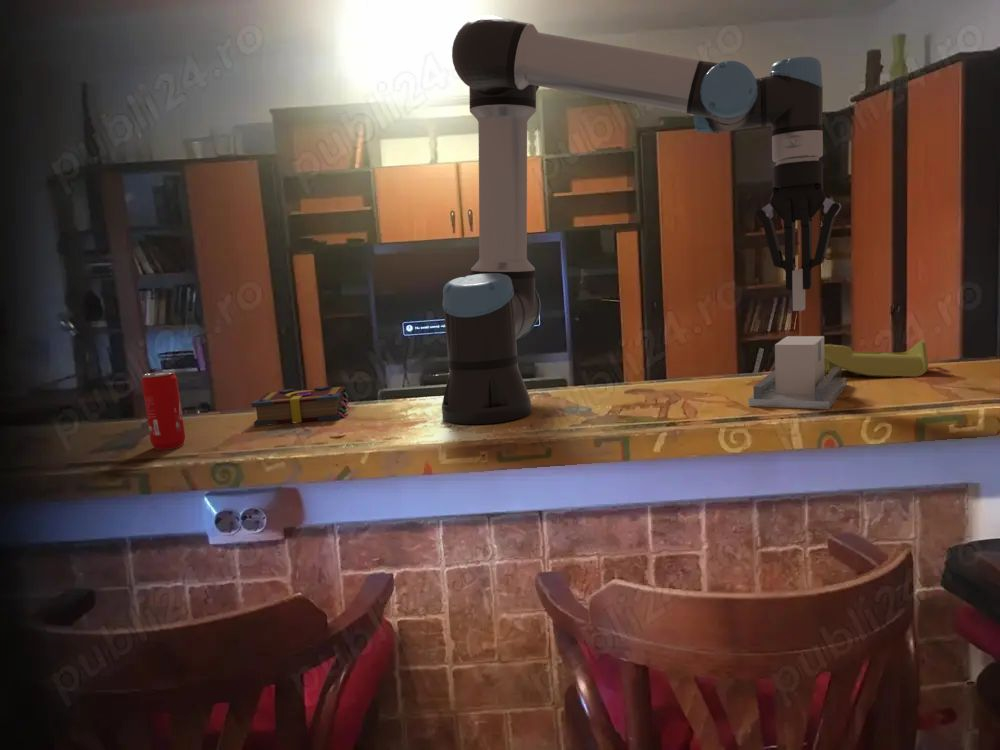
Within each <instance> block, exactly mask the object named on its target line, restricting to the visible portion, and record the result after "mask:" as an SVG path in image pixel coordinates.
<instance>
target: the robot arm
mask: <svg viewBox="0 0 1000 750" xmlns="http://www.w3.org/2000/svg"><path fill="white" fill-rule="evenodd" d="M451 48H452V49H451V59H452V60H451V61H452V63H453V68H454V70H455V72H456V74H457V76H458V77H459V78H460V80H461V81H462V82H463V84H465V85H466V86H467V87H469V113H470V114H471V115H472V116H473V117H474V118H475V119H476V120H477V123H478V232H479V233H478V234H479V235H478V237H479V239H478V241H479V242H478V243H479V244H478V247H479V248H478V249H479V258H478V261H477V262H476V263H474V265H473V266H472V267H470V268H471V269H470V272H471V274H469V275H466V276H461V277H456V278H454V279H451V280H449V281H448V282H446V283H445V285H444V286H443V289H442V303H441V305H442V309H443V316H444V329H445V339H446V341H445V342H446V349H447V350H446V351H447V352H446V353H447V361H448V376H447V377H448V378H447V381H446V384H445V385H446V386H445V390H444V394H443V399H442V404H441V413H442V416H441V417H442V419H443V420H444V421H445V422H448V423H451V424H458V425H459V424H461V425H487V424H498V423H504V422H511V421H514V420H518V419H523V418H524V417H526V416H527V417H528V416H529V415H530V414H531V413H532V400H531V399H532V398H531V397H530V394H529V392H528V389H527V386H526V384H525V382H524V379H523V377H522V374H521V371H520V369H519V361H518V349H517V347H518V346H517V341H518V340H520V339H522V338H524V337H526V335H528V334H529V333H530V332H531V331H532V330H533V328H534V327H535V325H536V324H537V322H538V321H539V318H540V314H541V310H542V309H541V308H542V305H541V298H540V295H539V293H538V290H537V289H536V268H535V266H534V265H533V264H531V262H530V261H529V260H528V253H527V252H528V250H527V249H528V247H527V246H528V241H527V240H528V235H527V234H528V222H527V221H528V121H529V120H530V118H531V117H533V115H534V114H536V111H537V92H538V91H539V89H540V87H542V88H548V89H553V90H559V91H563V92H569V93H575V94H580V95H586V96H589V97H590V96H591V97H597V98H602V99H609V100H611V101H612V100H613V101H619V102H623V103H630V104H633V105H640V106H645V107H650V108H651V107H652V108H657V109H661V110H662V109H663V110H668V111H673V112H674V111H675V112H679V113H684V114H689V115H691V116H693V124H694V130H695V131H696V132H697V133H699V134H710V133H712V134H713V133H714V134H719V133H720V132H729V131H730V132H731V131H737V130H738V131H739V130H744V129H753V128H765V127H771V153H772V154H771V157H772V159H771V160H772V162H774V163H775V165H773V167H772V194H771V196H770V198H769V203H768V204H767V205H765V206H763V207H762V208H760V209H757V210H756V211H755V215H756V217H757V218H758V219H759V221H760V223H762V227H763V230H764V234H765V238H766V242H767V245H768V248H769V253H770V257H771V260H772V263H773V264H772V265H773V266H774V267H776V268H779V269H783V270H784V272H785V288H786V291H792V312H803V311H805V310H806V290H810V289H812V287H813V269H814V268H815V267H818V266H819V265H822V264H824V262H825V258H826V254H827V251H828V246H829V243H830V238H831V235H832V230H833V226H834V223H835V218H836V217H837V215H838V213H839V212H840V210H841V209H842V204H841V203H839V202H835V201H834V200H831V199H830V198H828V196H827V193H826V191H825V188H824V162H822V160H820V158H822V157H823V155H824V137H823V136H824V135H823V133H824V132H823V111H824V109H823V104H824V103H823V99H824V96H823V95H824V93H823V88H824V85H823V77H822V64H821V61H820V60H819V59H817V58H816V57H814V56H794V57H790V58H787V59H781V60H778V61H776V62H774V63H773V64H772V65H771V67H770V72H769V75H767V76H764V77H763V76H762V77H759V78H756V77H755V75H754V73H753V71H752V70H751V69H750V68H749V67H748V66H747V65H746V64H744V63H743V62H740V61H736V60H726V61H722V62H720V63H718V62H712V61H704V60H701V59H695V58H689V57H684V56H683V57H682V56H677V55H673V54H672V55H671V54H666V53H660V52H654V51H648V50H643V49H636V48H630V47H625V46H620V45H614V44H608V43H607V44H606V43H602V42H596V41H591V40H590V41H589V40H585V39H579V38H573V37H569V36H562V35H557V34H556V35H555V34H551V33H545V32H539V31H538V30H537V28H536V26H535V25H534V24H533V23H529V22H523V21H517V20H514V19H510V18H505V17H501V16H496V15H491V14H487V15H485V14H483V15H479V16H475V17H474V18H472V19H470V20H468V21H467V22H466V23H465V24H463V26H462V27H461V28H460V29H459V30H458V31H457V34H456V36H455V37H454V39H453V43H452V47H451ZM822 206H823V207H824V208H823V213H824V214H825V216H824V218H823V221H822V226H821V230H820V233H819V238H818V242H817V246H816V250H815V253H814V258H813V219H814V218H815V216H816V215H817V214H818V212H819V211H820V209H821V208H822ZM774 211H775V212H776V214H777V215H778V216H779V217H780V218H781V219H782V221H783V229H784V257H783V253H782V250H781V249H782V248H781V244H780V242H779V237H778V235H777V231H776V227H775V224H774V221H773V219H772V218H773V217H774ZM797 221H800V229H801V233H800V235H801V266H800V267H801V269H796V268H797V264H796V225H797V224H796V222H797Z"/></svg>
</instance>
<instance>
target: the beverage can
mask: <svg viewBox="0 0 1000 750" xmlns="http://www.w3.org/2000/svg"><path fill="white" fill-rule="evenodd" d="M141 386H142V391H143V398H144V405H145V412H146V418H147V425H148V426H147V427H148V431H149V437H150V444H152V447H154V450H155V451H167V450H173V449H178V448H180V447H183V446H184V445H185V443H184V442H185V440H186V433H185V432H186V430H185V425H184V418H183V411H182V404H181V397H180V389H179V383H178V377H177V375H176V374H175V371H173V370H165V371H156V372H150V373H144V374H143V375H142V380H141Z"/></svg>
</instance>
